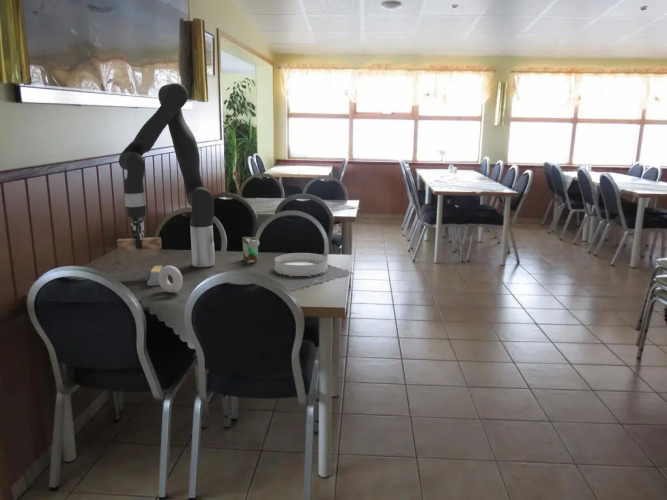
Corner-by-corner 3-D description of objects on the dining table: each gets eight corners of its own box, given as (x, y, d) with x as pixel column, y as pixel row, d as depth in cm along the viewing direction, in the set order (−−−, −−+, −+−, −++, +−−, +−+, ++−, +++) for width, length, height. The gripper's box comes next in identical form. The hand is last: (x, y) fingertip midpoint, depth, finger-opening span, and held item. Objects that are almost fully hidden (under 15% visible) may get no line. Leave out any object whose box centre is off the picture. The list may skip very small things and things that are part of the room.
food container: (263, 263, 239) (262, 241, 237) (249, 265, 237) (248, 242, 235) (256, 257, 250) (255, 236, 248) (242, 258, 248) (242, 236, 246)
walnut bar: (161, 246, 220) (160, 237, 219) (160, 248, 216) (159, 239, 215) (119, 248, 217) (118, 239, 216) (117, 250, 214) (116, 240, 213)
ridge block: (167, 279, 215) (166, 265, 214) (164, 285, 207) (163, 270, 206) (151, 279, 214) (150, 266, 213) (147, 285, 206) (146, 271, 205)
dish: (312, 280, 216) (312, 267, 215) (264, 273, 225) (264, 261, 224) (336, 267, 235) (336, 255, 234) (290, 261, 244) (290, 250, 243)
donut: (185, 293, 198) (184, 266, 196) (179, 295, 195) (177, 268, 192) (163, 289, 202) (161, 263, 199) (157, 292, 199) (155, 265, 196)
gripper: (142, 206, 206) (146, 251, 210) (148, 201, 220) (152, 243, 224) (121, 207, 205) (126, 252, 209) (129, 202, 219) (133, 244, 223)
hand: (140, 247), depth 217 cm, fingers closed on walnut bar, 3 cm apart
